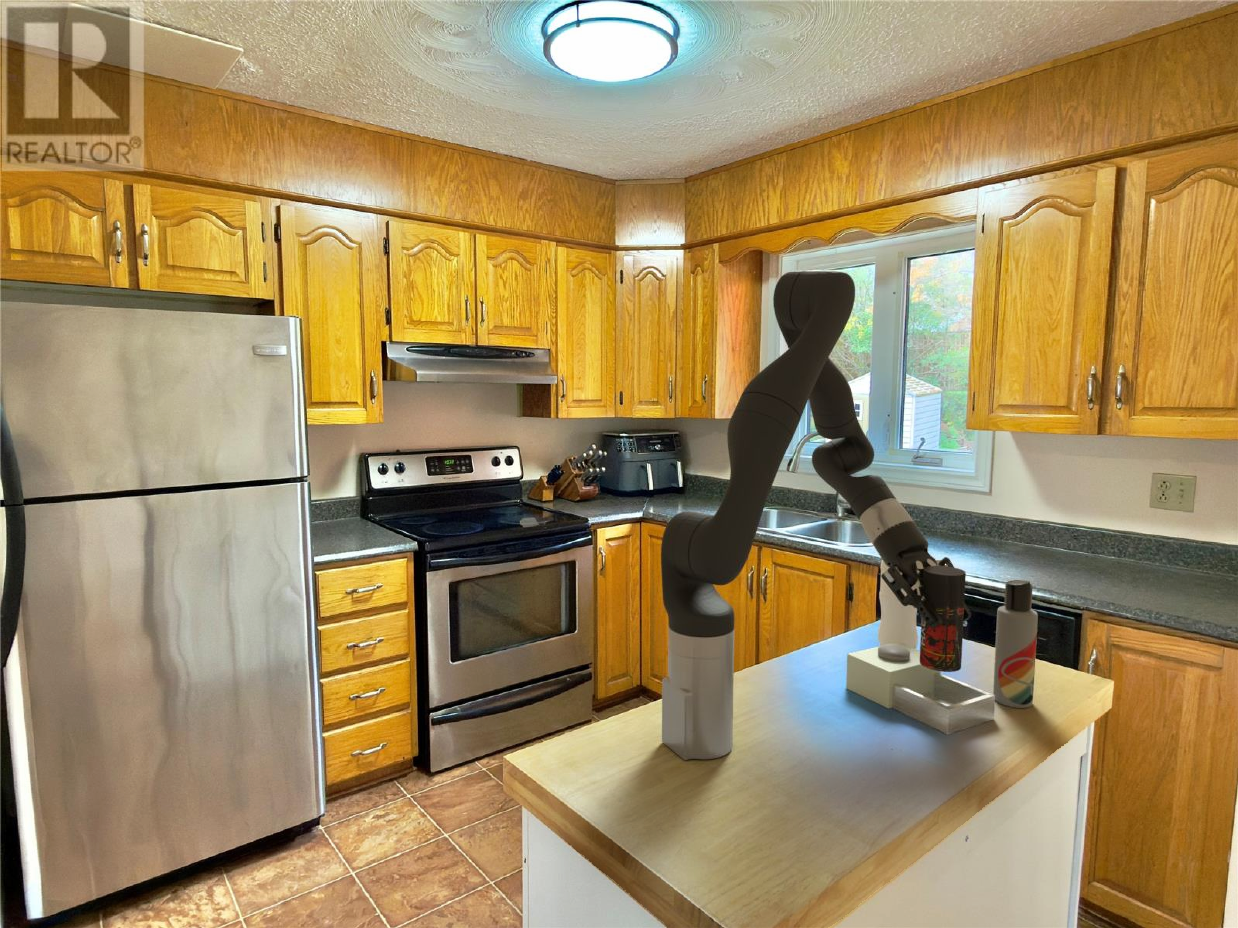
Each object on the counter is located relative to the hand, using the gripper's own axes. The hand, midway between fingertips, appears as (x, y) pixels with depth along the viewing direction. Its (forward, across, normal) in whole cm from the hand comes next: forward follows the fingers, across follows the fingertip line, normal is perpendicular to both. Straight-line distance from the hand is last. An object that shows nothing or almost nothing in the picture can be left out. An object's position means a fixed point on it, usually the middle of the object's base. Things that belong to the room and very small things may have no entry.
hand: (952, 622), depth 109 cm
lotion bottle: (+12, +14, +10) cm, 21 cm away
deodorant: (+4, 0, +6) cm, 8 cm away
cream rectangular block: (+3, 0, +18) cm, 18 cm away
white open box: (+9, 0, +12) cm, 15 cm away
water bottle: (-5, +15, +27) cm, 31 cm away
